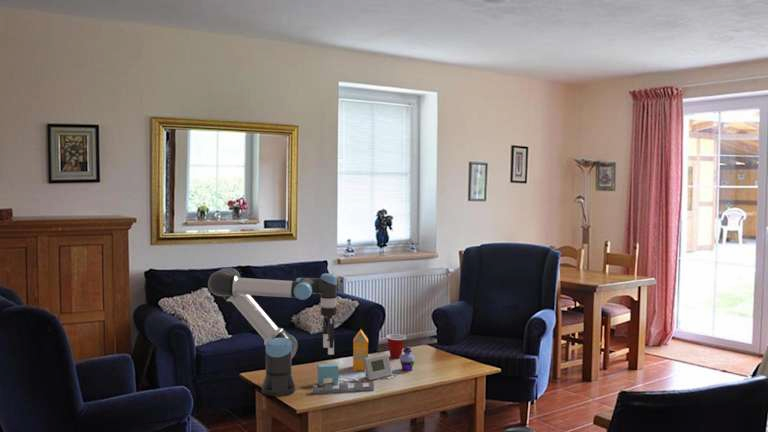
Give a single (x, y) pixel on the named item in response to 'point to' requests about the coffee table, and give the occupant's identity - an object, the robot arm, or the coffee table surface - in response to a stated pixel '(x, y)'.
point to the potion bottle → (407, 359)
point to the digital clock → (377, 366)
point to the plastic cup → (395, 345)
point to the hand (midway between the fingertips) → (328, 350)
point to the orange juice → (360, 350)
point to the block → (327, 373)
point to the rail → (343, 388)
